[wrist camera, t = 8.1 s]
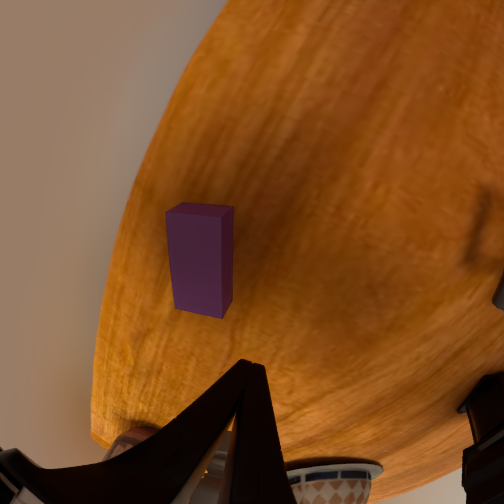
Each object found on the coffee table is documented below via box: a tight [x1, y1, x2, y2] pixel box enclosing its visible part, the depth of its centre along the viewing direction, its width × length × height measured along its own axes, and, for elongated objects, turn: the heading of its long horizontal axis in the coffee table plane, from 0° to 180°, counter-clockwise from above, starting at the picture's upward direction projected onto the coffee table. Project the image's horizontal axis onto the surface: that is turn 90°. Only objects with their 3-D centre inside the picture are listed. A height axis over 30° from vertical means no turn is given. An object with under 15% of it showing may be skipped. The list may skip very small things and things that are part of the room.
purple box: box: [166, 202, 233, 319], centre depth 19 cm, size 8×4×2 cm, turn 178°
